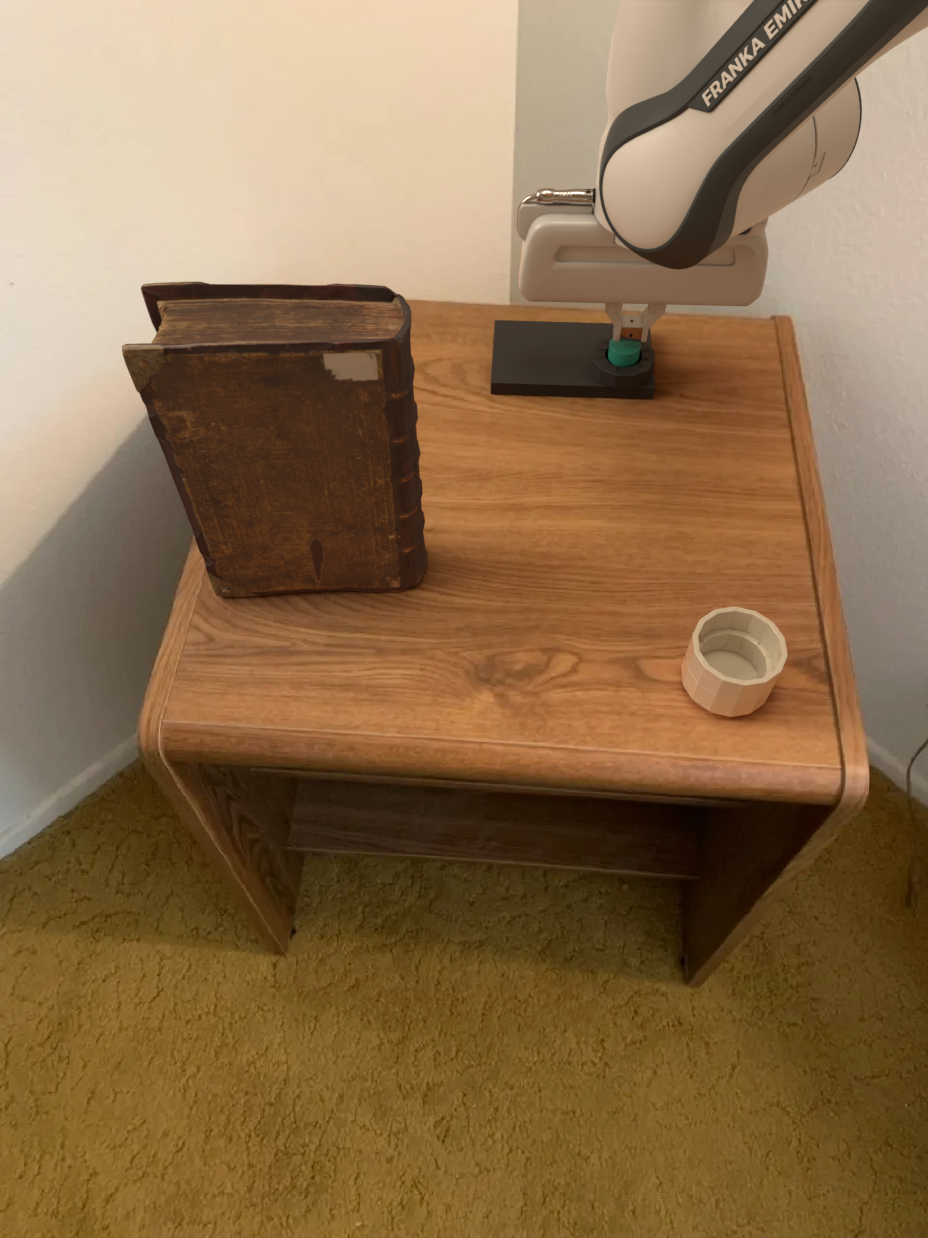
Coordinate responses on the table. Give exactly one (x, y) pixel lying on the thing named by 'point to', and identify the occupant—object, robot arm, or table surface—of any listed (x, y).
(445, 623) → the table surface
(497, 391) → the scale
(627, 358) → the button
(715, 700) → the beige cup
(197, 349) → the book
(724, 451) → the table surface
